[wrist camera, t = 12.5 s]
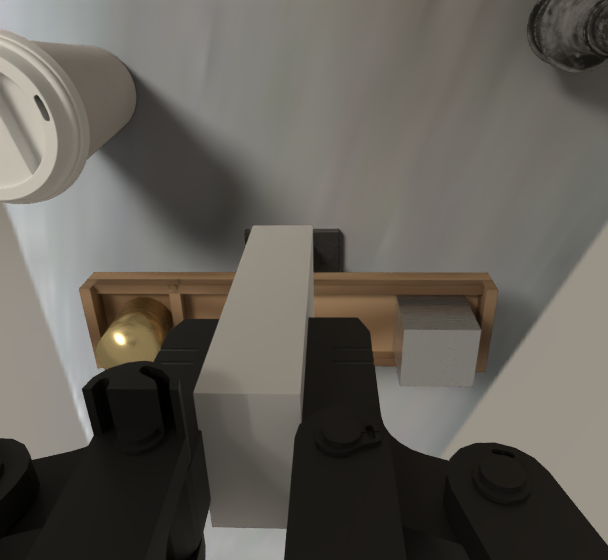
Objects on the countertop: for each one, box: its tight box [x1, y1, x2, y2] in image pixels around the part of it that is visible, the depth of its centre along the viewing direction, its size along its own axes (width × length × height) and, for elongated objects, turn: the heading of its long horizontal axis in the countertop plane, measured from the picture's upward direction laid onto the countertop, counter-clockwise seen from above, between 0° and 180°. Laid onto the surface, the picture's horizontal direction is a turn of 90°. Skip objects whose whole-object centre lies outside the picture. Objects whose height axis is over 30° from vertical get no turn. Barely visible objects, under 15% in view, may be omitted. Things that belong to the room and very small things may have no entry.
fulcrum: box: [245, 229, 339, 273], centre depth 44 cm, size 9×8×8 cm
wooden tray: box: [79, 272, 498, 372], centre depth 41 cm, size 7×30×3 cm, turn 91°
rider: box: [392, 295, 481, 387], centre depth 38 cm, size 5×5×5 cm
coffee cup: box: [0, 29, 136, 204], centre depth 34 cm, size 10×10×15 cm
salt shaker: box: [527, 0, 608, 73], centre depth 32 cm, size 6×6×12 cm
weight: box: [96, 297, 173, 370], centre depth 39 cm, size 4×4×5 cm
